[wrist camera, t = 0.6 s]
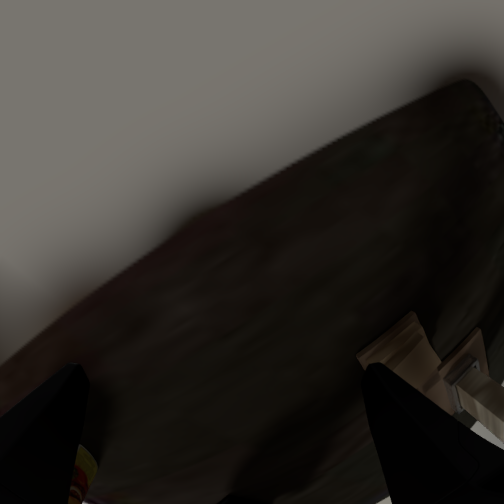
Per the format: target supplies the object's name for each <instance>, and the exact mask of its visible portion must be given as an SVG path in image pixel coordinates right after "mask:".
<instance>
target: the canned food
mask: <svg viewBox="0 0 504 504" xmlns="http://www.w3.org/2000/svg"><path fill="white" fill-rule="evenodd" d="M97 470H98V465H97V462H96V460H95V459H94V457H93V456H92V455H91V454H90V453H89V451H88V450H86V449H85V448H84V447H83V446H82V445H80V444H79V447H78V451H77V456H76V461H75V465H74V471H73V476H72V481H71V487H70V493H69V500H68V504H82V502H83V500H84V498H85V496H86V494H87V491H88V489H89V487H90V485H91V483H92V481H93V479H94V477H95V474H96V472H97Z"/></svg>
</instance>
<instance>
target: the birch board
mask: <svg viewBox="0 0 504 504" xmlns="http://www.w3.org/2000/svg"><path fill="white" fill-rule="evenodd" d="M455 388H456V392H457V396H458V399H459V404H460V405H461V406H462V407H463V408H464V409H465V410H466V411H468V412H469V413H470V414H471V415H472V416H473V417H474V418H476V419H477V420H478V421H479V422H480V423H481V424H482V425H484V426H485V427H486V428H487V429H488V430H489V431H490V432H492V433H493V434H494V435H495V436H496V437H497V438H498V439H499V440H501V441H502V442H503V443H504V387H503V386H501V385H500V384H498V383H497V382H495V381H494V380H492V379H491V378H489V377H488V376H486V375H485V374H483V373H482V372H480V371H479V370H477V369H476V368H474V367H473V368H472V369H471V370H470V371H469V372H468V373H467V374H466V375H465V376H464V377H463V378H462V379H461V380H460V381H459V382H458V383H457V384H456V385H455Z"/></svg>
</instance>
